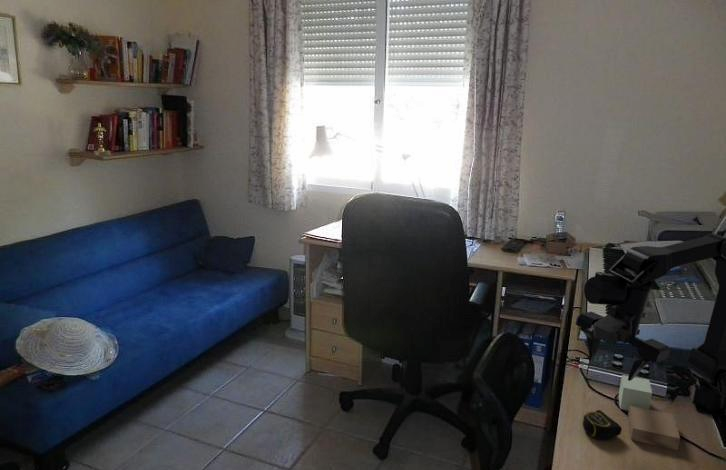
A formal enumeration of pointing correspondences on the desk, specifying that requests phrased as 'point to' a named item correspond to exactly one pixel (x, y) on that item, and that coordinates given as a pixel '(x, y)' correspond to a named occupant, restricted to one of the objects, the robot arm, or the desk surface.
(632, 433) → the tan square block
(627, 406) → the sage block
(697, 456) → the desk surface
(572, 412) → the desk surface
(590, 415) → the tape measure
